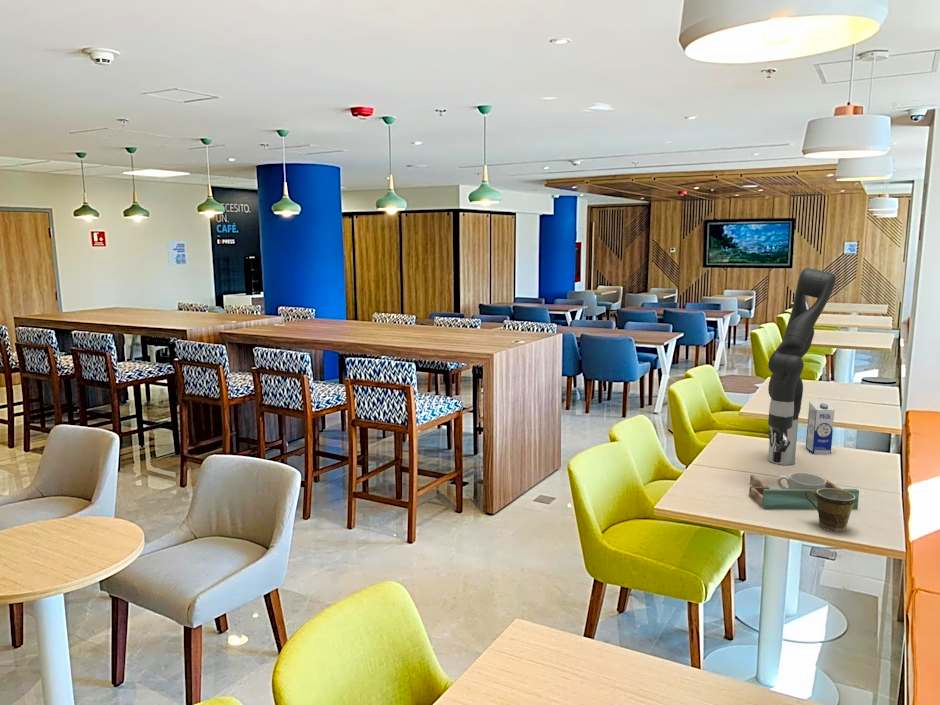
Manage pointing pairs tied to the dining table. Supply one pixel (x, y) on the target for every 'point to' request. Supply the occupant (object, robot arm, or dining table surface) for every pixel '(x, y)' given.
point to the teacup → (802, 481)
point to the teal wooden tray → (789, 496)
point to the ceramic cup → (833, 507)
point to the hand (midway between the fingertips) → (776, 461)
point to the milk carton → (820, 428)
